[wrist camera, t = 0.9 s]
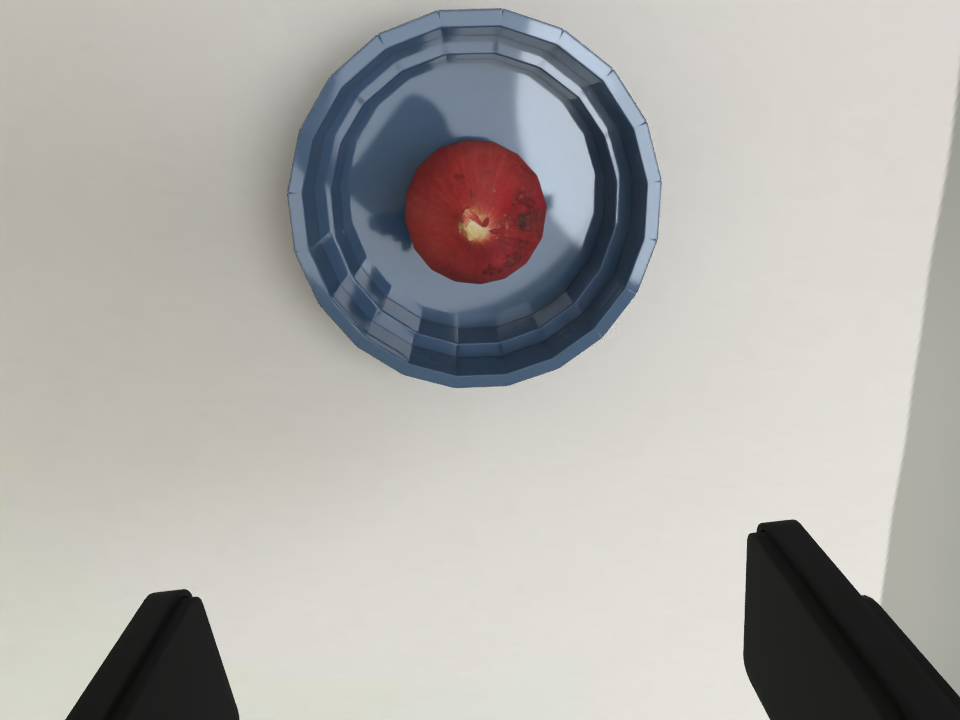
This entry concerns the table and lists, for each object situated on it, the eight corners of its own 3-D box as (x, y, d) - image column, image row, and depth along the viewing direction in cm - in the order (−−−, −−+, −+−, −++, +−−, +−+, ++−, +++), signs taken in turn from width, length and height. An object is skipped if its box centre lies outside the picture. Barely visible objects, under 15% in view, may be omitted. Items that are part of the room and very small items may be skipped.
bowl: (296, 32, 28) (263, 14, 23) (637, 23, 28) (674, 3, 23) (333, 355, 33) (312, 394, 28) (621, 344, 33) (648, 381, 29)
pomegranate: (542, 144, 29) (572, 152, 22) (527, 268, 31) (549, 315, 24) (415, 131, 29) (400, 135, 22) (408, 258, 31) (392, 302, 24)
